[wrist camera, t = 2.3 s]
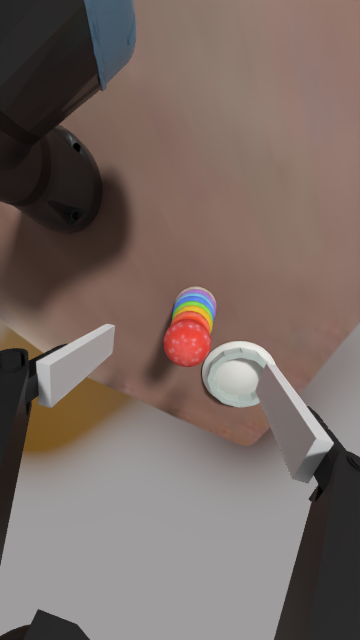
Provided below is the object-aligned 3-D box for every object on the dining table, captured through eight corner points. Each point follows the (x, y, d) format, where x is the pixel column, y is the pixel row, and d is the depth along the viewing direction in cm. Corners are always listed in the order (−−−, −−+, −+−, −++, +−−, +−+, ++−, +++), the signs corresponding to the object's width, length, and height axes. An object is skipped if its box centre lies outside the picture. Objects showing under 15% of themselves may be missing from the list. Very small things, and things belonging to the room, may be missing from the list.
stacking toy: (168, 295, 34) (129, 325, 16) (207, 279, 32) (211, 292, 14) (184, 331, 35) (164, 393, 18) (221, 317, 34) (241, 372, 16)
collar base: (195, 392, 39) (194, 401, 37) (212, 333, 35) (212, 337, 32) (261, 410, 38) (265, 420, 36) (287, 350, 34) (294, 357, 31)
